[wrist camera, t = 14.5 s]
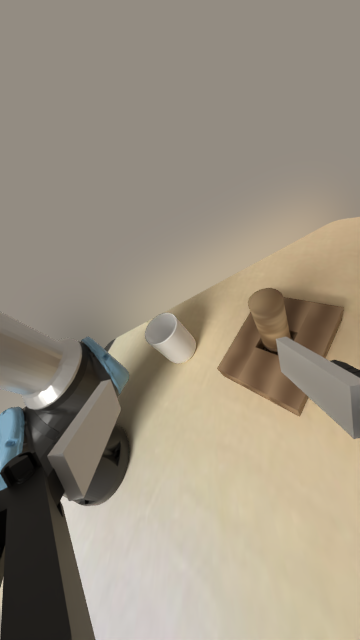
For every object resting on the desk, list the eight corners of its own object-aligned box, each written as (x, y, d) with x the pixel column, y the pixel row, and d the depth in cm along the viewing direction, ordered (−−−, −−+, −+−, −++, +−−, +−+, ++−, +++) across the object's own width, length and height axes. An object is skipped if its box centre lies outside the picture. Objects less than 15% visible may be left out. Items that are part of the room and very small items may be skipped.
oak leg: (262, 355, 41) (242, 309, 30) (272, 336, 43) (256, 285, 32) (286, 365, 38) (274, 317, 27) (297, 343, 39) (289, 290, 28)
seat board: (223, 375, 43) (217, 368, 40) (264, 304, 48) (261, 293, 45) (299, 416, 33) (298, 410, 30) (341, 320, 38) (343, 307, 35)
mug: (188, 321, 57) (169, 297, 50) (201, 354, 49) (180, 332, 41) (163, 335, 59) (141, 314, 51) (171, 370, 50) (146, 351, 43)
